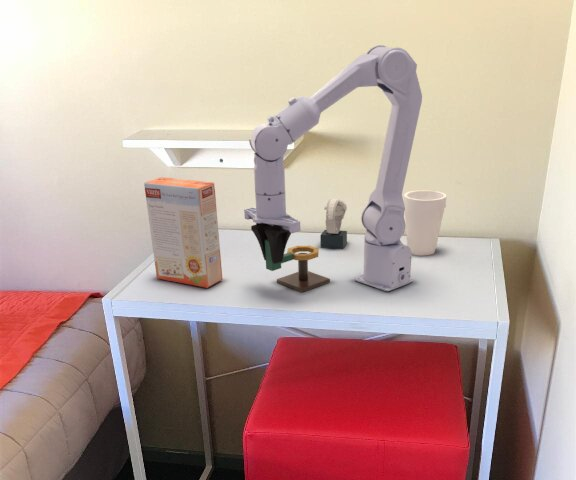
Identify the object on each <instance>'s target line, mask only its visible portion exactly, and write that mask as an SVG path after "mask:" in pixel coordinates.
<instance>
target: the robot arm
mask: <svg viewBox="0 0 576 480" xmlns="http://www.w3.org/2000/svg"><path fill="white" fill-rule="evenodd" d="M417 67H418V64H417V63H416V60H414V58H413V57H412V56H411V55H410V53H409V52H408V51H407V50H406V49H404V48H402V47H389V46H385V45H375V46H372V47H371V48H369V50H368V51H367V52H366V53H362V54H360V55H358V56H357V57H356V58H355V59H354V60H353V61H351V62H350V63H349V64H348V65H347V66H345V67H344V69H341V71H339V72H338V73H337V74H336V75H335V76H333V77H332V78H331V79H330V80H329V81H328V82H327V83H326V84H324V85H323V86H322V87H321V88H319V89H318V90H317V91H316V92H315V93H314V94H313V95H311V96H305V95H300V96H298V97H297V98H296V97H294V96H292V97H291V98H290V99H288V100H287V103H288V105H286V106H285V107H284V108H283V109H281V110H280V111H279V112H278V113H276V114H275V115H268V117H266V120H267V122H265V123H260V124H258V125H256V127H254V129H253V130H252V132H251V134H250V139H249V140H248V142H249V146H250V148H251V150H252V151H253V152H254V153H253V164H254V166H253V177H254V179H253V180H254V193H255V194H254V195H255V207H247V208H244V209H243V211H244V213H243V214H244V219H245V220H252V222H253V223H255V224H252V225H251V226H250V228H251V231H252V233H253V235H254V236H255V238H256V240H257V242H258V244H259V247H260V250H261V254H262V257H263V260H264V261H266V256H265V240H266V239H268V241H269V245H270V250H271V259H272V262H273V263H274V264H276V263H279V262H282V260H283V256H284V254H285V250H286V248H287V244H288V242H289V239H290V237H291V234H295V233H299V232H301V220H299V219H295V217H293V216H291V215H290V214H288V213H287V202H286V200H287V199H286V176H285V175H286V174H285V171H286V170H285V166H284V164H285V163H284V156H285V155H286V152H287V150H288V146H289V145H292V144H293V143H295V142H296V141H298V140H299V139H300V138H301V137H303V136H304V135H305V134H307V132H310V130H312V129H313V128H315V127H316V126H317V125H318V124H319V122H320V118H321V115H322V113H323V112H324V111H326V110H327V109H328V108H330V107H331V106H333V105H334V104H336V103H338V102H339V101H340V100H341V99H343V98H344V97H345V96H346V97H347V95H349V94H350V93H352V92H353V91H355V90H356V89H358V88H365V87H366V88H367V87H368V88H369V87H378V88H379V89H380V90H382V93H384V95H385V96H386V97H387V99H388V101H389V102H390V104H391V108H390V113H389V119H388V123H387V127H386V128H387V129H386V134H385V139H384V142H383V143H384V144H383V149H382V153H381V159H380V163H379V164H380V165H379V170H378V173H377V179H376V185H375V188H374V190H373V191H372V192H371V193H370V195H369V197H368V202H367V204H366V206H365V207H364V208H363V210H362V212H361V216H360V220H361V224H362V226H363V227H364V229H365V230H366V231H365V234H364V241H363V242H364V243H363V250H364V251H363V274H362V275H359V276H356V277H354V281H355V282H358V283H361V284H364V285H367V286H370V287H373V288H375V289H378V290H381V291H385V292H391V291H393V290H395V289H398V288H401V287H403V286H406V285H408V284H411V283H412V282H413V279H412V278H411V273H412V272H411V271H412V255H413V254H411V250H410V248H409V247H408V246H407V244H406V245H405V244H404V243H403V242H402V241H401V239H402V237H403V236H404V234H405V231H406V219H405V205H404V196H403V191H404V186H405V181H406V177H407V173H408V167H409V162H410V158H411V155H412V148H413V144H414V140H415V135H416V130H417V127H418V122H419V121H418V120H419V116H420V111H421V108H422V107H421V106H422V104H423V93H422V89H421V86H420V82H419V78H418V73H417Z"/></svg>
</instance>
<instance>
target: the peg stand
mask: <svg viewBox="0 0 576 480" xmlns="http://www.w3.org/2000/svg"><path fill="white" fill-rule="evenodd" d="M298 254H308V252H298ZM297 269H298V271H297V272H294V273H291V274H288V275H285V276H282V277H278V278H276V283H277V284H279V285H281V286H284V287H287V288H290V289H292V290H295V291H297V292H300V293H304V292H307V291H310V290H313V289H315V288H318V287H321V286H323V285H326V284H329V283H331V279H330V278H329V277H326V276H323V275H320V274H318V273H315V272H311V271H309V260H297Z"/></svg>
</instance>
